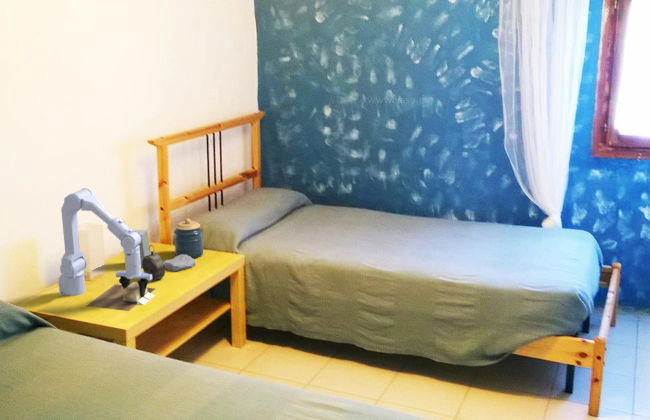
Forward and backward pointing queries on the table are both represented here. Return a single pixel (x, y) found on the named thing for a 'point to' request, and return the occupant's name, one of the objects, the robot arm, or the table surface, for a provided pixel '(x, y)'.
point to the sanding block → (132, 293)
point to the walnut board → (114, 299)
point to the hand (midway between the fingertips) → (135, 295)
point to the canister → (188, 239)
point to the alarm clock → (153, 265)
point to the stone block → (179, 263)
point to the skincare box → (144, 244)
